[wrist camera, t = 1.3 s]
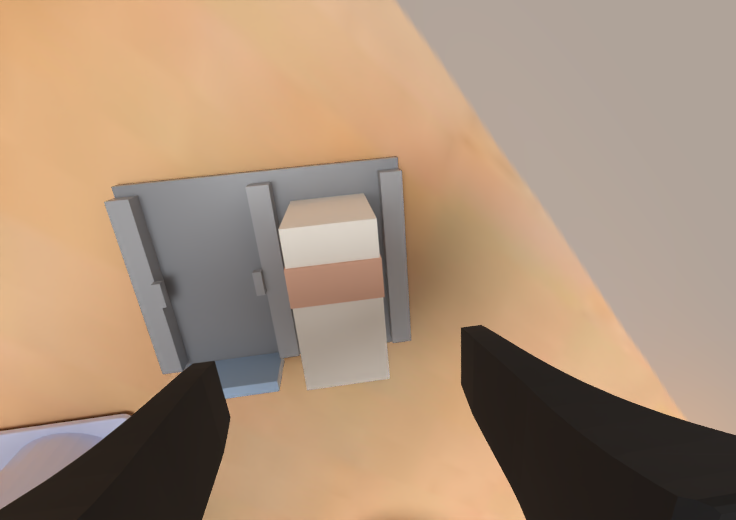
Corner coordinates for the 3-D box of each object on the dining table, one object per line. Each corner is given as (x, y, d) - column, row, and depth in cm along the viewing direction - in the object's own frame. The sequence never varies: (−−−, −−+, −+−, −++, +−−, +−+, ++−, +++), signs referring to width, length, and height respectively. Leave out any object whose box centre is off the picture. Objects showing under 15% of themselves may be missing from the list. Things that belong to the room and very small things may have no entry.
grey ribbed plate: (406, 339, 22) (418, 371, 19) (176, 370, 21) (154, 408, 18) (395, 156, 18) (408, 163, 15) (117, 184, 17) (76, 197, 15)
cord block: (376, 320, 21) (391, 380, 16) (310, 328, 20) (305, 392, 16) (364, 193, 18) (378, 219, 13) (289, 201, 18) (276, 230, 13)
